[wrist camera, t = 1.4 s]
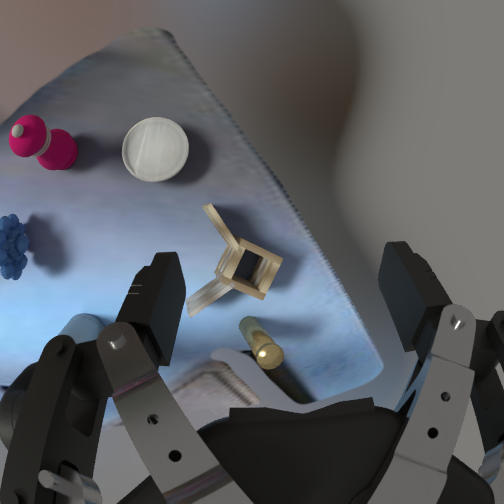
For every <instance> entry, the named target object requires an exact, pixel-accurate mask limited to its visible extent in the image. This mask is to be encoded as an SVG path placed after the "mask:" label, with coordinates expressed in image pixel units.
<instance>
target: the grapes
mask: <svg viewBox="0 0 504 504" xmlns="http://www.w3.org/2000/svg"><path fill="white" fill-rule="evenodd" d="M24 233H25V227H24V225H23V224H22V223H19V219H18V217H17V216H16V215H15V214H11V215H9V216H8V217H7V216H3V217H1V219H0V266H2V267H1V275H2V276H3V277H4V278H5V279H10V278H12V279H13V280H18V279H19V278H20V276H21V274H22V269H24V268H25V266H26V265H27V261H28V259H27V257H26V256H25V255H24V253H25V252H26V250H27V249H28V245H29V240H28V238H27V237H26V236H25V235H24Z"/></svg>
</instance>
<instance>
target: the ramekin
mask: <svg viewBox="0 0 504 504" xmlns="http://www.w3.org/2000/svg"><path fill="white" fill-rule="evenodd" d="M188 153H189V143H188V139H187V136H186V134H185V132H184V131H183V129H182V128H181V127H180V126H179V125H178V124H177V123H175V122H173V121H172V120H169V119H166V118H161V117H152V118H148V119H145V120H142V121H140V122H139V123H137V124H136V125H134V126H133V127H132V128H131V129H130V131H129V132H128V133H127V135H126V137H125V139H124V142H123V146H122V157H123V161H124V164H125V166H126V168H127V169H128V170H129V172H130V173H131V174H132V175H134V176H135V177H137V178H138V179H140V180H143V181H146V182H161V181H165V180H167V179H170V178H171V177H173V176H175V175H176V174H177V173H178V172H179V171H180V170H181V169H182V168H183V166H184V165H185V163H186V160H187V158H188Z"/></svg>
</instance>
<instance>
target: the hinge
mask: <svg viewBox="0 0 504 504" xmlns="http://www.w3.org/2000/svg"><path fill="white" fill-rule="evenodd" d="M202 208H203V209H204V211H205V212H206V214H207V215H208V217H209V218H210V220H211V221H212V223H213V224H214V226H215V227H216V228H217V230H218V231H219V233H220V234H221V236H222V237H223V239H224V240H225V242H226V243H227V247H226V249H225V251H224V253H223V255H222V257H221V259H220V261H219V264H218V266H217V268H216V270H215V272H214V273H215V274H216V276H217V277H216V278H215V279H214V280H212V281H211V282H209V283H208V284H207V285H205V286H204V287H202V288H201V289H200V290H198V291H197V292H195V293H194V294H193V295H191V296H190V297H188V298H187V299H186V305H187V311H188V315H189V316H190V317H193V316H194V315H196V314H197V313H198V312H200V311H201V310H203V309H204V308H205V307H207V306H208V305H210V304H211V303H213V302H214V301H215V300H217V299H218V298H220V297H221V296H222V295H224V294H225V293H227V292H228V291H229V290H231V289H232V288H234V289H237V290H239V291H241V292H244V293H246V294H248V295H251V296H253V297H256V298H258V299H260V300H263V299H264V297H265V295H266V293H267V291H268V289H269V287H270V285H271V283H272V281H273V279H274V277H275V275H276V273H277V271H278V269H279V267H280V265H281V263H282V260H283V258H281V257H279V256H277V255H275V254H273V253H271V252H269V251H267V250H265V249H263V248H261V247H258V246H256V245H254V244H252V243H250V242H248V241H246V240H244V239H242V238H240V237H237V236H235V235H233V234H231V233H230V231H229V230H228V228H227V227H226V225H225V224H224V222H223V221H222V219H221V218H220V216H219V215H218V213H217V212H216V210H215V209H214V207H213V206H212V204H205V205H204V206H202ZM245 249H247V250H249V251H252V252H254V253H256V254H258V255H260V257H259V259H258V261H257V263H256V265H255V267H254V269H253V271H252V273H251V275H250V277H249V279H248V280H246V279H244V278H241V277H239V276H237V275H235V274H234V272H235V270H236V268H237V266H238V264H239V262H240V259H241V257H242V255H243V253H244V251H245Z"/></svg>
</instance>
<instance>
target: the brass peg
mask: <svg viewBox="0 0 504 504" xmlns="http://www.w3.org/2000/svg"><path fill="white" fill-rule="evenodd" d="M239 329H240V331H241V333H242V335H243V336H244V338H245V340H246V341H247V343H248V345H249V346H250V348H251V350H252V351H253V353H254V355H255V356H256V360H257V362H258V364H259V365H260V366H261V367H262V368H264V369H273V368H275V367H277V366H278V365H280V364H281V362H282V361H283V358H284V352H283V350H282V349H281V347H280V346H279V345H278V344H276V343H275V342H274V341H273V339H272V338H271V337H270V336H269V334H268V333H267V332H266V331H265V329H264V328H263V327H262V326H261V324H260V323H259V322H258V321H257V319H256V318H254V317H252V316H247V317H245V318H243V319H242V320H241V321H240V323H239Z"/></svg>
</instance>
